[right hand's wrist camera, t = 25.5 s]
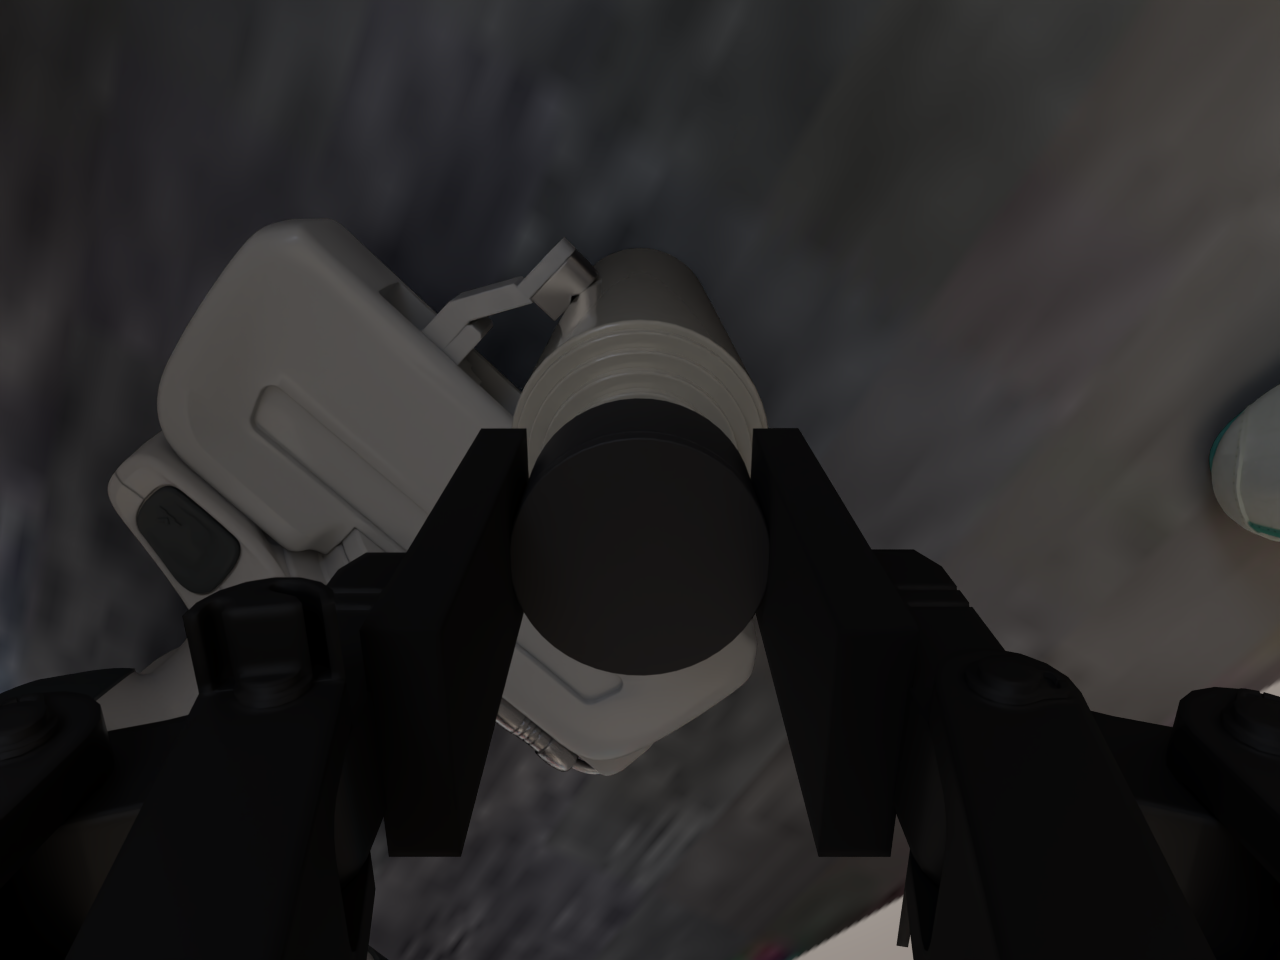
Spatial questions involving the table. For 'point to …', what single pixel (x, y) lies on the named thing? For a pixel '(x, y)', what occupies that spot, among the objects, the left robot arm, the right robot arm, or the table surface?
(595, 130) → the table surface
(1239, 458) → the ballet flat
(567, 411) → the ridged cream cylinder
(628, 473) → the cap
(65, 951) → the right robot arm
